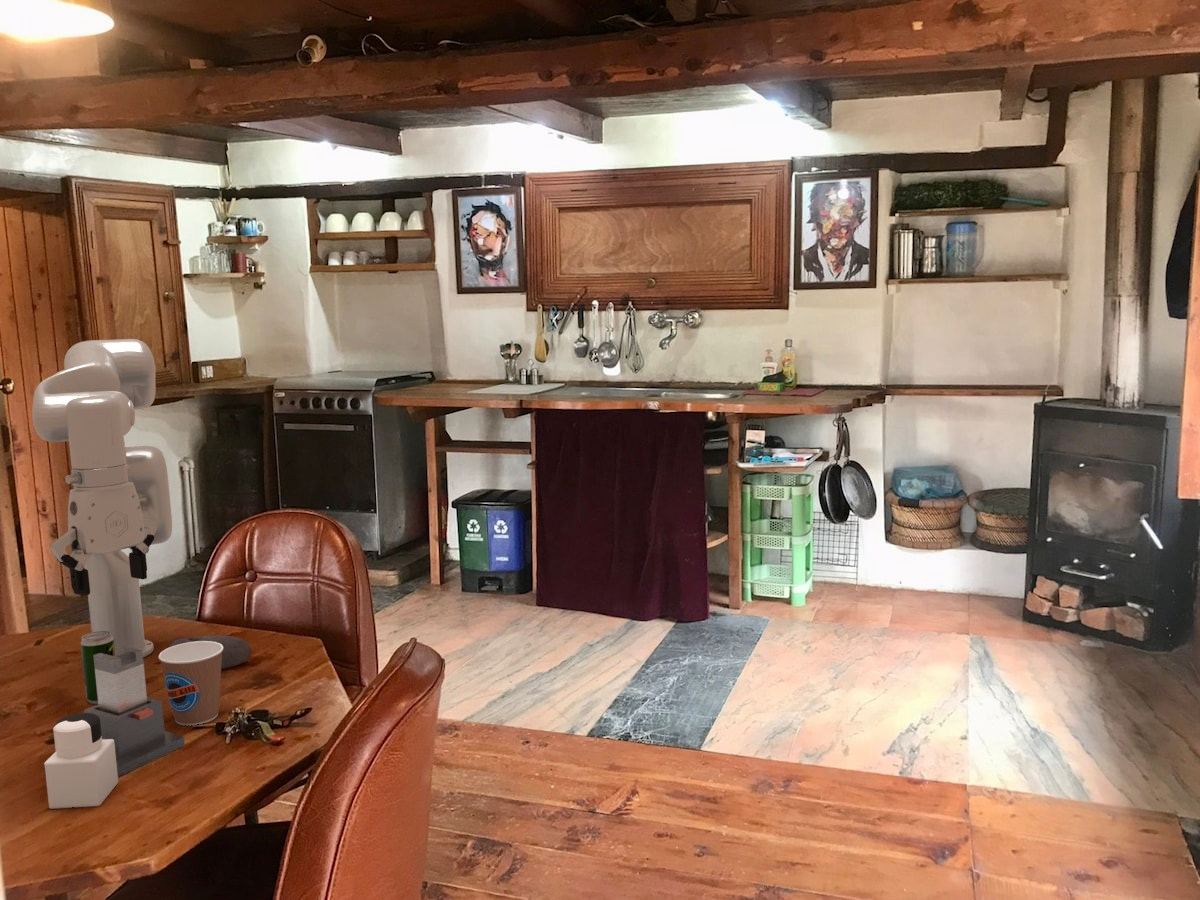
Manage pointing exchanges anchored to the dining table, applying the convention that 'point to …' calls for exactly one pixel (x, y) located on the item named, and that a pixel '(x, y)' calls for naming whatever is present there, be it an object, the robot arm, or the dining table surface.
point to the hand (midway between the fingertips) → (111, 585)
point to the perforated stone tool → (225, 648)
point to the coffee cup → (193, 680)
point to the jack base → (137, 735)
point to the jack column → (120, 680)
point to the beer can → (90, 647)
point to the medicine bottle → (80, 763)
